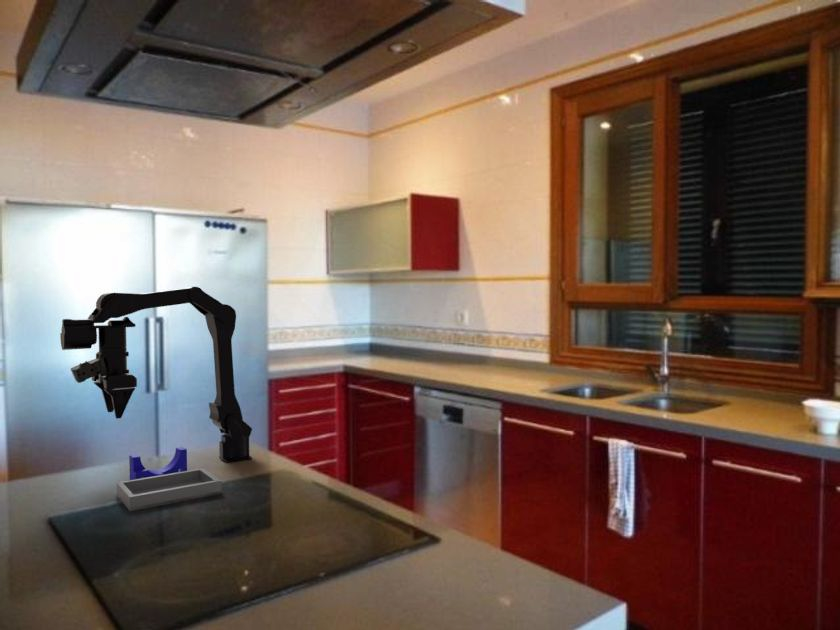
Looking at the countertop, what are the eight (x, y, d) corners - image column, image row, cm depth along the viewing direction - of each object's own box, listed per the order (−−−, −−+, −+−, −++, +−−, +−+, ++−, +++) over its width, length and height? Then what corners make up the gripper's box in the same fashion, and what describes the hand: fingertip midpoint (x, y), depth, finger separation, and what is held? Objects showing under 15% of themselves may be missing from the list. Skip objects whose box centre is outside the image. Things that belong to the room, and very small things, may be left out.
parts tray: (203, 481, 146) (203, 468, 146) (221, 494, 137) (221, 480, 137) (116, 496, 136) (116, 482, 136) (129, 512, 126) (129, 497, 126)
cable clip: (135, 485, 144) (135, 458, 144) (129, 481, 147) (129, 455, 147) (189, 475, 152) (189, 450, 151) (182, 471, 155) (182, 446, 155)
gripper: (67, 346, 151) (68, 413, 152) (80, 352, 136) (82, 426, 137) (118, 344, 158) (120, 407, 158) (136, 349, 143) (138, 420, 143)
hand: (114, 415), depth 149 cm, fingers open, 9 cm apart
